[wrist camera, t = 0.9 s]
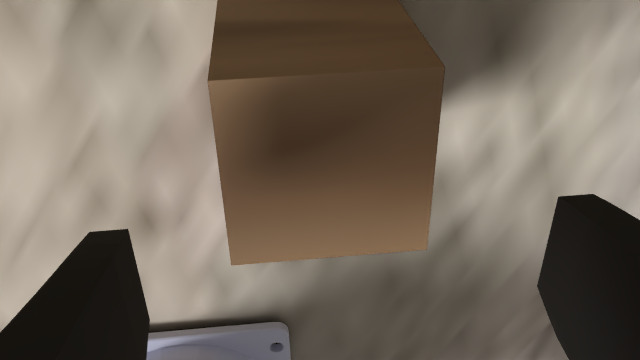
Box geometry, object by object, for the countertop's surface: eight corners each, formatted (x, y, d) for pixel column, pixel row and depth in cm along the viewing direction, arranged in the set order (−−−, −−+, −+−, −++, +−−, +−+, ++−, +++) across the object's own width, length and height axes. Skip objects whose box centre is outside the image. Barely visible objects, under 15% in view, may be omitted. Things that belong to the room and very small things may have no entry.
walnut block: (379, 127, 19) (426, 249, 14) (235, 137, 19) (231, 265, 14) (385, -19, 17) (444, 67, 12) (219, -11, 16) (207, 80, 11)
